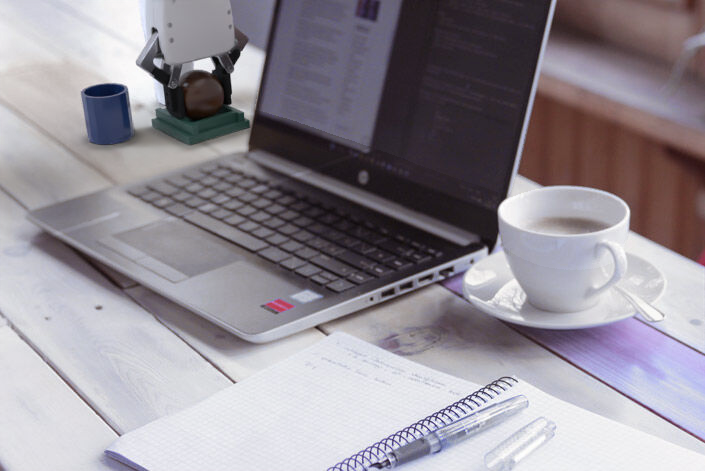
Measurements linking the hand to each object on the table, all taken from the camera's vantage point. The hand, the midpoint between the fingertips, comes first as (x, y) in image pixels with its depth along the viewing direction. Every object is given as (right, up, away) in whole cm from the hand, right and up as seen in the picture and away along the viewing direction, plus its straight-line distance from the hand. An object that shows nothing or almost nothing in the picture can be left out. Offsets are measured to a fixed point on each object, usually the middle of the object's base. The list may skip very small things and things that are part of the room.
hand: (200, 107), depth 120 cm
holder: (0, -2, +1) cm, 2 cm away
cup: (-11, -4, -1) cm, 12 cm away
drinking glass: (-5, +2, +10) cm, 12 cm away
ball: (0, +1, -1) cm, 2 cm away
